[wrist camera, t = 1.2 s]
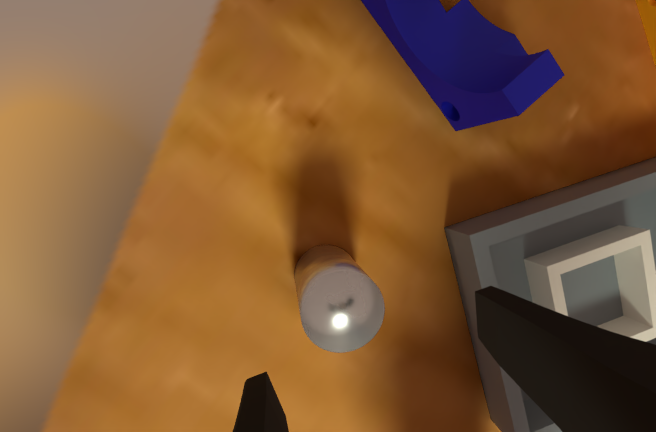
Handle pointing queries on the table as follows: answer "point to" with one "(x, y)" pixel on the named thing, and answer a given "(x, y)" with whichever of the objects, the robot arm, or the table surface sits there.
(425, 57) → the blue cradle block
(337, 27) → the table surface
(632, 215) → the walled tray
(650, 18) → the pipe clamp
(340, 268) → the metal peg
